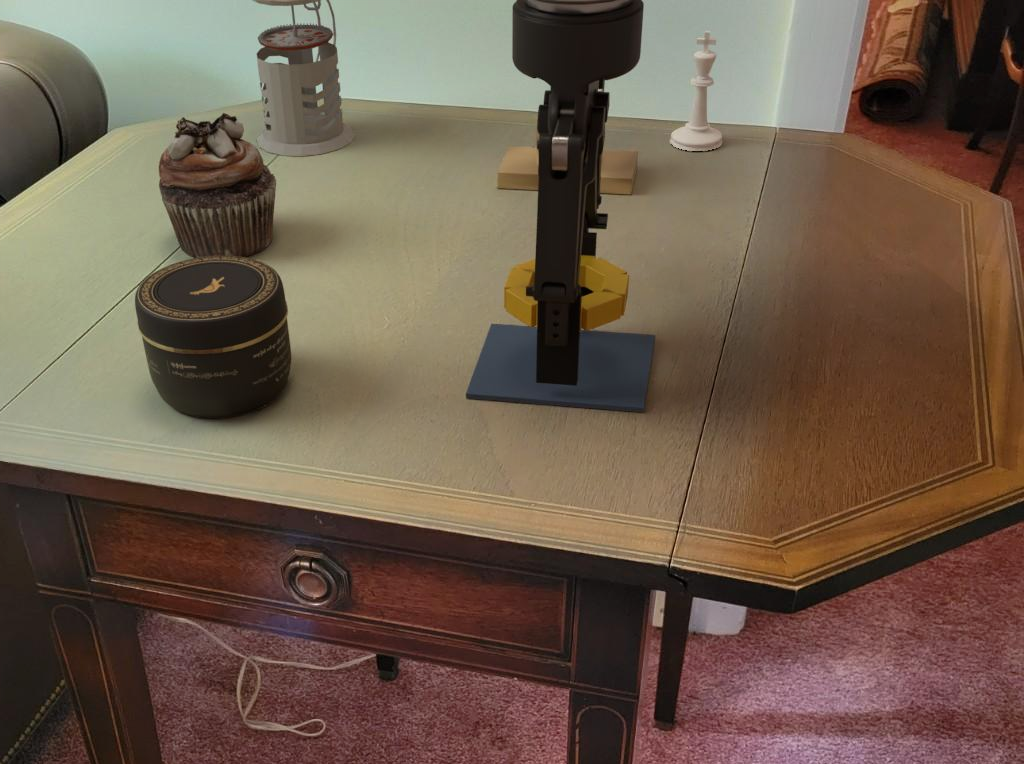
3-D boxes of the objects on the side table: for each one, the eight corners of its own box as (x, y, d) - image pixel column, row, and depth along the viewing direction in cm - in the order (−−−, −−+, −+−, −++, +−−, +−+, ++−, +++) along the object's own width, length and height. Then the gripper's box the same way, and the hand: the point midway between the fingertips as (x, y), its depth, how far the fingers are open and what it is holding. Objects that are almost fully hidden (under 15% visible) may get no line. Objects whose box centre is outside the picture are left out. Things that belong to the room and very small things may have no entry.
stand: (637, 167, 112) (647, 29, 104) (631, 194, 108) (641, 52, 100) (508, 161, 115) (509, 26, 107) (497, 188, 110) (497, 48, 102)
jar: (313, 356, 88) (302, 256, 83) (271, 430, 81) (257, 326, 76) (182, 346, 90) (164, 248, 85) (131, 418, 82) (107, 316, 77)
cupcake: (174, 272, 99) (151, 150, 93) (166, 225, 107) (145, 108, 100) (290, 257, 101) (275, 135, 94) (275, 211, 108) (260, 95, 101)
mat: (655, 339, 88) (655, 334, 88) (643, 412, 81) (644, 407, 80) (491, 328, 90) (491, 323, 90) (465, 398, 83) (465, 393, 83)
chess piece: (671, 132, 119) (681, 22, 112) (722, 134, 118) (736, 23, 111) (668, 151, 115) (678, 39, 108) (721, 152, 114) (735, 40, 108)
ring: (631, 279, 84) (632, 257, 83) (620, 334, 78) (621, 312, 77) (516, 272, 86) (517, 251, 85) (497, 326, 80) (497, 304, 79)
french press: (238, 149, 120) (197, -144, 103) (293, 110, 128) (263, -168, 111) (328, 161, 116) (300, -141, 100) (378, 119, 124) (360, -166, 108)
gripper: (539, -52, 78) (533, 279, 93) (481, 49, 63) (485, 425, 77) (657, -51, 76) (632, 284, 91) (627, 52, 61) (603, 435, 76)
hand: (565, 349), depth 84 cm, fingers closed on ring, 8 cm apart
